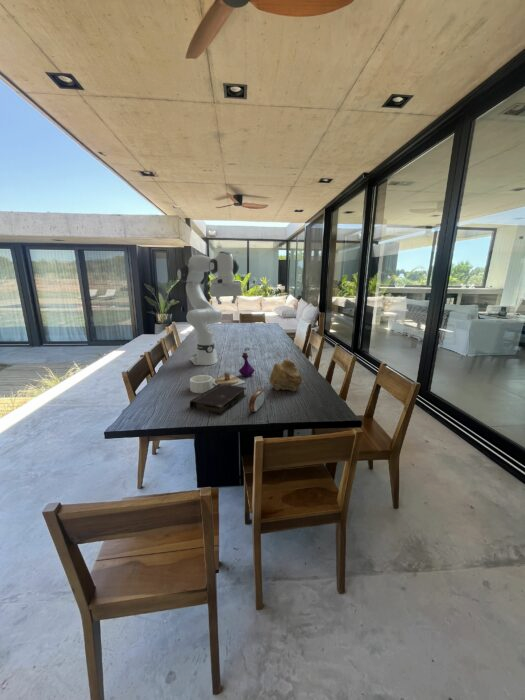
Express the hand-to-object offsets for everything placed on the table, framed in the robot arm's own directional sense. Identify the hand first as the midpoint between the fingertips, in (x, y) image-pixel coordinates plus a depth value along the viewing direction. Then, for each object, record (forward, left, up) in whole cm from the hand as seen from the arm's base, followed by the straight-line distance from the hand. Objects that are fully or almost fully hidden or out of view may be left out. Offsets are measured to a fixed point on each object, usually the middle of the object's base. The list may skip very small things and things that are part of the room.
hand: (226, 303), depth 177 cm
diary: (+33, -24, -46) cm, 61 cm away
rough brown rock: (+39, +16, -45) cm, 62 cm away
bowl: (+12, -24, -45) cm, 52 cm away
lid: (+11, -7, -44) cm, 46 cm away
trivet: (+11, -7, -45) cm, 47 cm away
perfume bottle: (+8, +9, -45) cm, 47 cm away
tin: (+50, -13, -45) cm, 69 cm away
